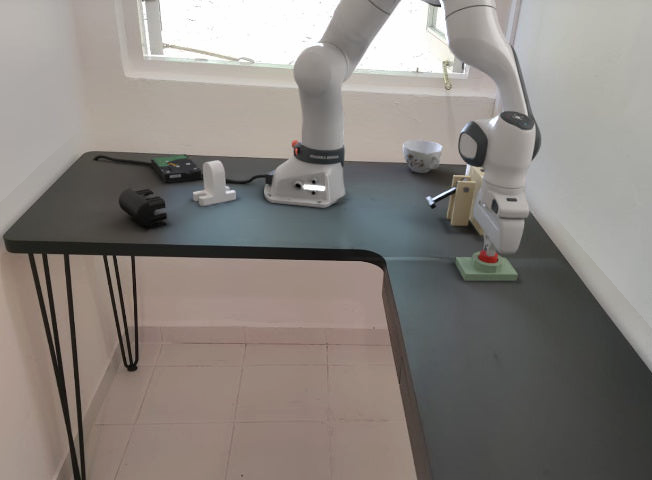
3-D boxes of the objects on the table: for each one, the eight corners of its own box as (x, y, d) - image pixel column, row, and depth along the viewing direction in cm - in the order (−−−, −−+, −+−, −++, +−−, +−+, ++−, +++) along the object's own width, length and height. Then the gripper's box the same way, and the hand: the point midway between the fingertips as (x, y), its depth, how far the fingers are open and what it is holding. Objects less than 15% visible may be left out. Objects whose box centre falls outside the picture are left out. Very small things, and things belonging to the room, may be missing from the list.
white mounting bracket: (236, 199, 157) (235, 162, 151) (202, 206, 151) (199, 167, 145) (226, 192, 160) (224, 156, 154) (192, 199, 154) (189, 161, 149)
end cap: (120, 217, 141) (116, 190, 137) (149, 211, 145) (146, 184, 142) (139, 232, 135) (135, 204, 131) (168, 225, 139) (165, 198, 136)
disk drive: (202, 180, 166) (186, 162, 176) (202, 170, 165) (185, 153, 175) (165, 184, 161) (150, 165, 171) (164, 174, 160) (149, 156, 170)
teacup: (392, 165, 191) (395, 141, 187) (423, 161, 198) (426, 137, 193) (420, 181, 181) (423, 155, 177) (451, 176, 187) (455, 151, 183)
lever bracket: (449, 232, 151) (457, 184, 144) (441, 219, 157) (448, 172, 150) (471, 232, 152) (480, 184, 145) (463, 220, 158) (471, 173, 151)
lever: (432, 211, 148) (429, 203, 147) (428, 203, 153) (424, 195, 151) (472, 190, 147) (469, 182, 146) (467, 183, 151) (463, 175, 150)
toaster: (478, 239, 148) (489, 185, 141) (461, 213, 162) (470, 163, 154) (513, 240, 150) (526, 186, 142) (493, 214, 163) (503, 164, 156)
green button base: (464, 280, 129) (467, 266, 128) (455, 263, 136) (457, 249, 134) (516, 281, 131) (519, 267, 130) (504, 264, 138) (507, 250, 136)
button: (481, 264, 130) (483, 257, 129) (476, 256, 134) (477, 249, 133) (498, 265, 131) (500, 258, 130) (493, 256, 134) (494, 249, 133)
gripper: (472, 176, 132) (462, 233, 139) (502, 213, 115) (488, 275, 122) (499, 177, 133) (488, 233, 140) (533, 213, 116) (517, 275, 123)
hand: (488, 253), depth 131 cm, fingers closed, pressing on button
